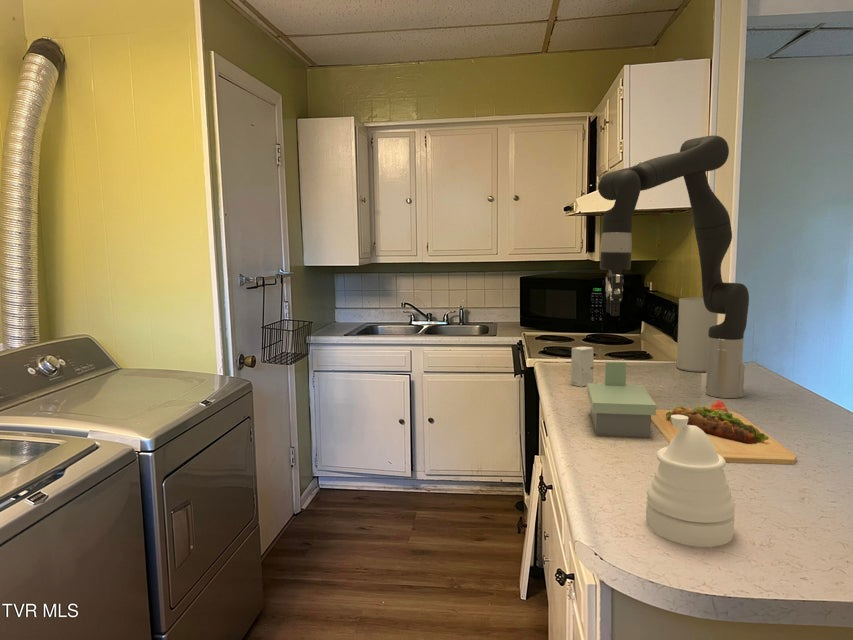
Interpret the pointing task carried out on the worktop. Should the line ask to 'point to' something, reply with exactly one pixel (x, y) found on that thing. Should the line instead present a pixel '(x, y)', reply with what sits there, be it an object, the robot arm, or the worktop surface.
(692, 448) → the honey pot
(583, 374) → the skincare box
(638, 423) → the tub
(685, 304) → the cylinder vase
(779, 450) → the cutting board
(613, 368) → the lid
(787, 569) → the worktop surface
